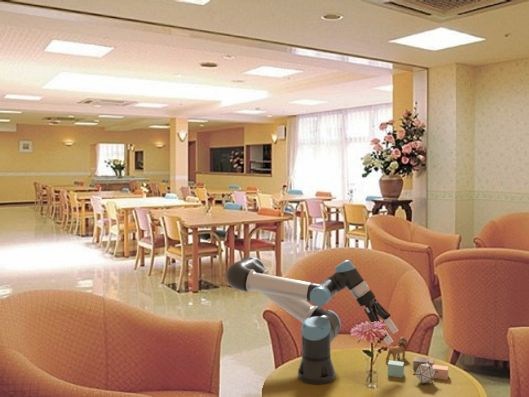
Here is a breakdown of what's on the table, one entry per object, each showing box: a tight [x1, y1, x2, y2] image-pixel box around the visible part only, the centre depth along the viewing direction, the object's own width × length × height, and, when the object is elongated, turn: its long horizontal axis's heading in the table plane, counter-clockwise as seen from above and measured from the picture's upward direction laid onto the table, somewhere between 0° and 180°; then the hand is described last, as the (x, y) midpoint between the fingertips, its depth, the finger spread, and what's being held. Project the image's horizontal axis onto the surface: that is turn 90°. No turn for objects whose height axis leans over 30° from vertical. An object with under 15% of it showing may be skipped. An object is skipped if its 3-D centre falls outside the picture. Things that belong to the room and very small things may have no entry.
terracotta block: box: [432, 364, 449, 381], centre depth 214 cm, size 6×4×4 cm, turn 68°
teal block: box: [387, 359, 405, 378], centre depth 216 cm, size 6×4×5 cm, turn 68°
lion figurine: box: [385, 336, 408, 364], centre depth 231 cm, size 15×5×9 cm, turn 139°
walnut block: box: [412, 356, 435, 371], centre depth 222 cm, size 8×5×4 cm, turn 68°
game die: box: [412, 361, 438, 386], centre depth 208 cm, size 9×8×10 cm
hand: (393, 337), depth 216 cm, fingers open, 13 cm apart
